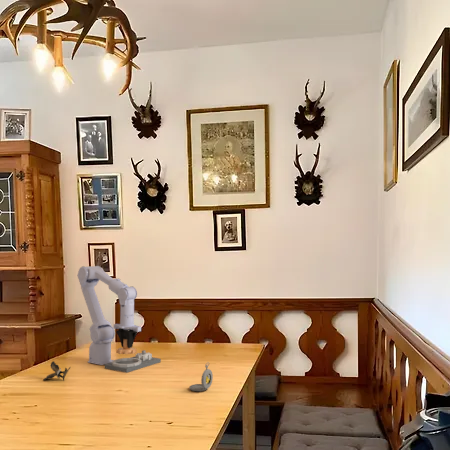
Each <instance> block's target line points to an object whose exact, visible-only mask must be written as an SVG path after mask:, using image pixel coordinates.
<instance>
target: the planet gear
mask: <svg viewBox="0 0 450 450" xmlns="http://www.w3.org/2000/svg"><path fill="white" fill-rule="evenodd" d="M115 351H116V354H119V355H134V354H137V348H135V347H131V348H128V347H127V339H123V347H118V348H116V350H115Z"/></svg>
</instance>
